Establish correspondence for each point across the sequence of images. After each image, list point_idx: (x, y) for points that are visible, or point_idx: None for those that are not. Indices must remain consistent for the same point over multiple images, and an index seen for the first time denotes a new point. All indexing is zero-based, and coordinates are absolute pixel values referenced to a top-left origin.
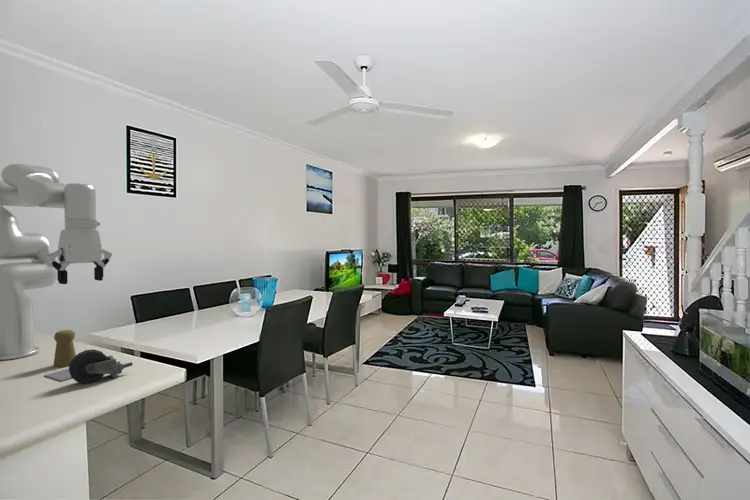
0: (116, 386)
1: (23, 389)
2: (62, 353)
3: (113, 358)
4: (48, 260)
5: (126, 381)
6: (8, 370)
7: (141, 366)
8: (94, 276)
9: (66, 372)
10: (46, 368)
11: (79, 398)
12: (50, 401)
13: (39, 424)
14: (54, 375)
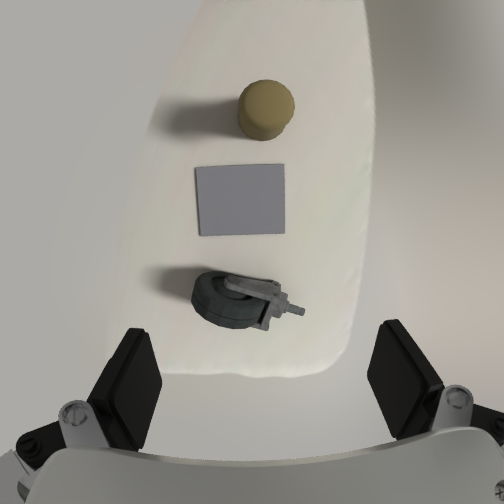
0: (242, 340)
1: (145, 217)
2: (249, 129)
3: (267, 324)
4: (6, 462)
5: (265, 334)
6: (177, 59)
7: (332, 285)
8: (389, 339)
9: (230, 190)
10: (225, 110)
11: (186, 338)
12: (156, 313)
13: None
14: (206, 189)
